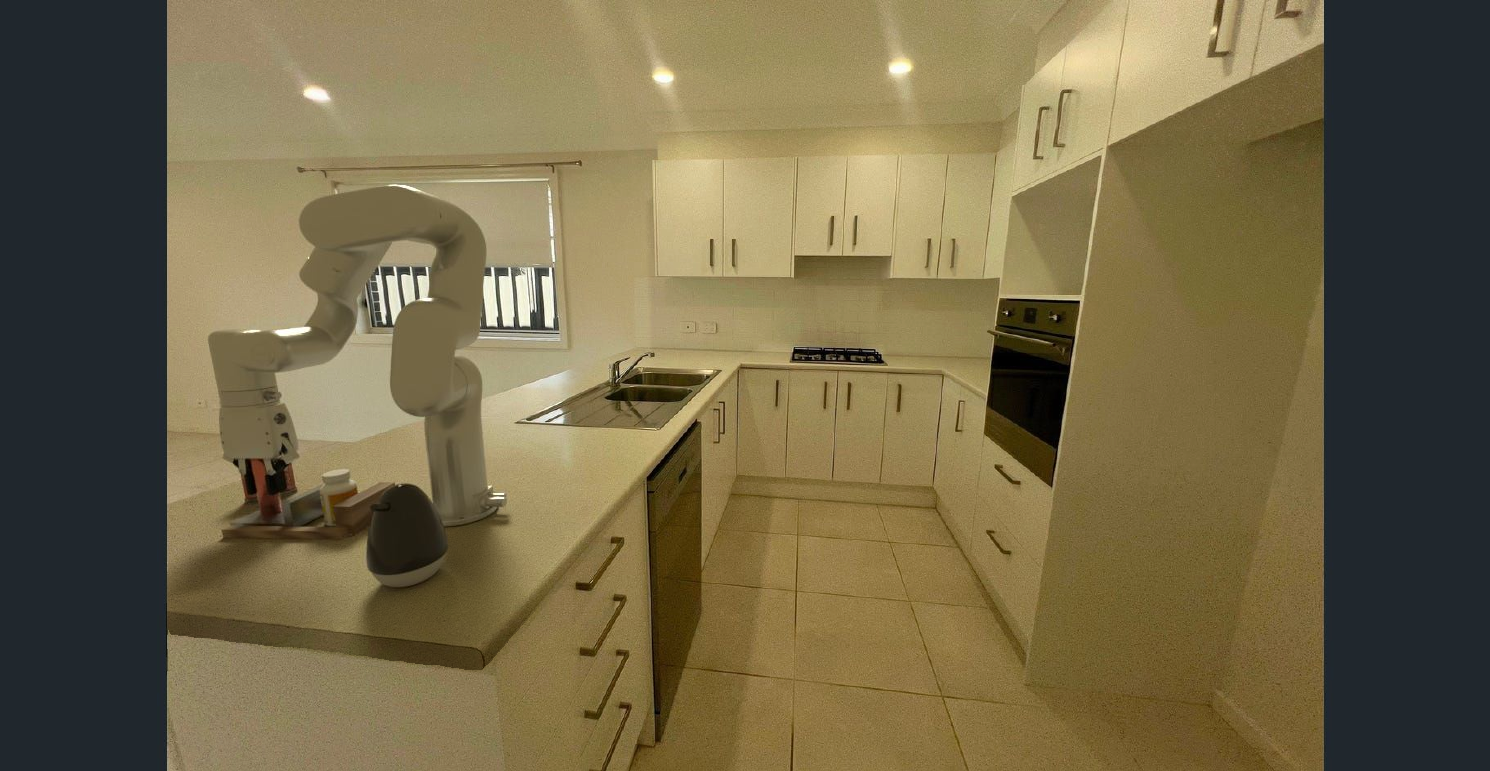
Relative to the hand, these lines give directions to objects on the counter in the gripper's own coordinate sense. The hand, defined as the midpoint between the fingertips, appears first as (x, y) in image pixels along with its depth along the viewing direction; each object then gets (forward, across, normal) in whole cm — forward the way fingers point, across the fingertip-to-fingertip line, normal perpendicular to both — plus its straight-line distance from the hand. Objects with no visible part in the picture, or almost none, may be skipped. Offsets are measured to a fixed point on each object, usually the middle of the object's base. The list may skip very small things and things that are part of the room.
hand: (267, 491), depth 90 cm
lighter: (+6, +10, -10) cm, 15 cm away
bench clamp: (+6, -10, 0) cm, 12 cm away
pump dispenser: (+6, -39, +18) cm, 43 cm away
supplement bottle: (+6, -14, 0) cm, 15 cm away
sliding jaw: (+5, -2, 0) cm, 6 cm away
